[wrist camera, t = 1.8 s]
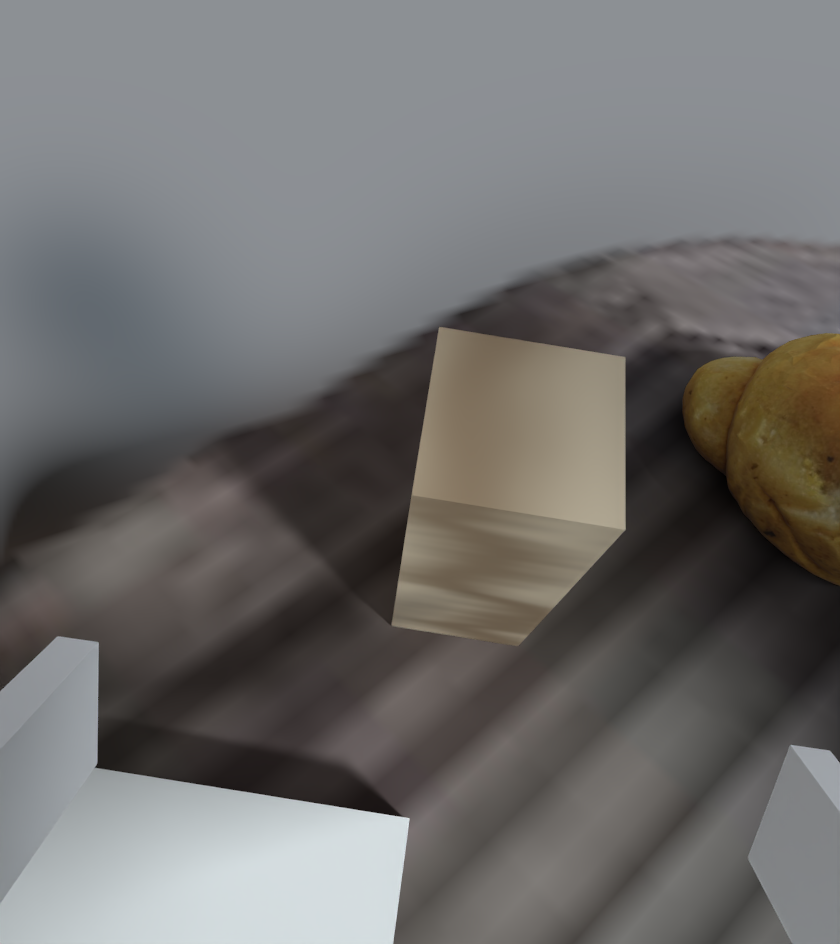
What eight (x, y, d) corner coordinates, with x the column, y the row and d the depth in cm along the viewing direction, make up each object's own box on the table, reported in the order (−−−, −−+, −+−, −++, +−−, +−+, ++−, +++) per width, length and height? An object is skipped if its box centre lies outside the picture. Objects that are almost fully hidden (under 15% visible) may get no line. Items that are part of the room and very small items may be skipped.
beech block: (526, 529, 28) (625, 357, 18) (517, 646, 26) (625, 529, 15) (410, 510, 28) (439, 326, 18) (391, 625, 26) (411, 495, 15)
